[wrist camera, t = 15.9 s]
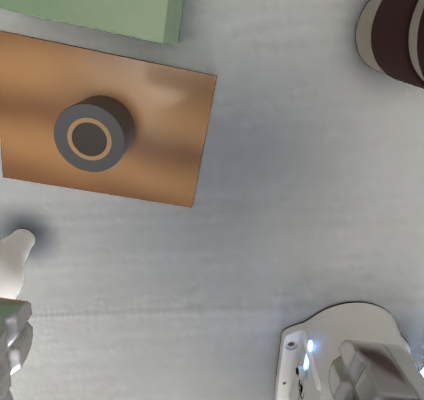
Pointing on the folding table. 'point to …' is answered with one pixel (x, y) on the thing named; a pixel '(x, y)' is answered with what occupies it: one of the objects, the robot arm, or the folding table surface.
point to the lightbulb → (14, 261)
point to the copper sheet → (112, 87)
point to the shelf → (110, 15)
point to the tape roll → (94, 133)
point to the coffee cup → (393, 39)
